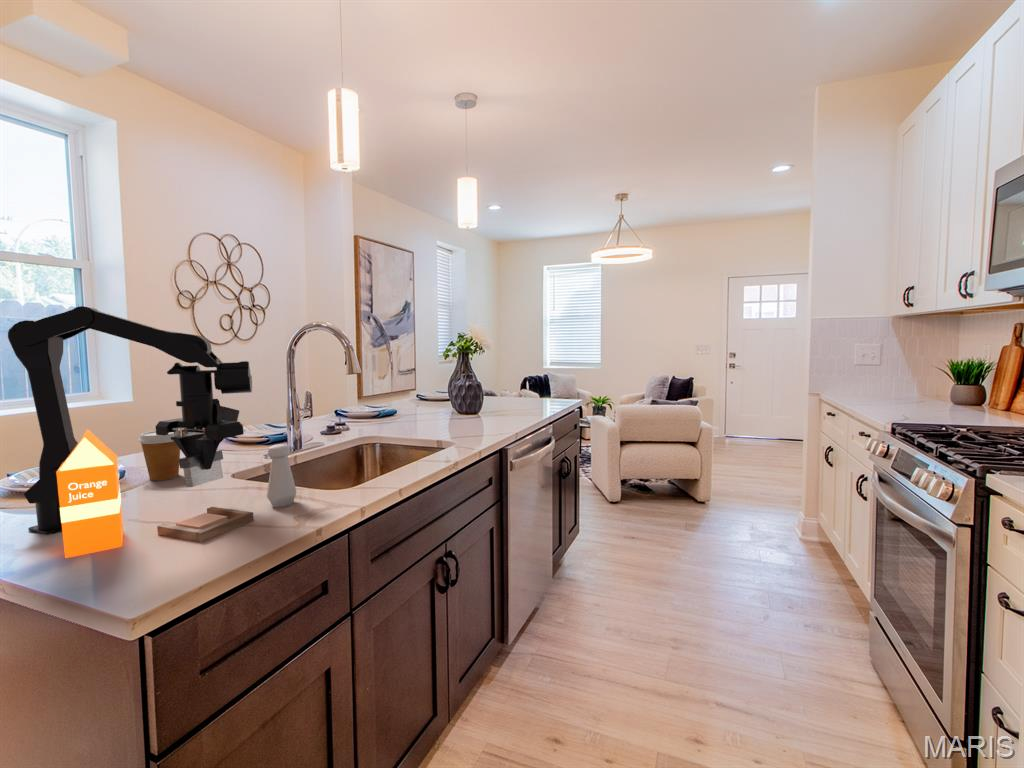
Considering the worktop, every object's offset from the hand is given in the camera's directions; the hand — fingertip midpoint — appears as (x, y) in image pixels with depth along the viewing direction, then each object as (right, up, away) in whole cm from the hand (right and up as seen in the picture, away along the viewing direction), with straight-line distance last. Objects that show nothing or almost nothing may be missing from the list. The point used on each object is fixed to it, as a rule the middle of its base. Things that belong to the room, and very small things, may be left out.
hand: (202, 468), depth 107 cm
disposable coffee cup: (-26, -7, +27) cm, 38 cm away
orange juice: (-8, -11, -17) cm, 22 cm away
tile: (+6, -10, -10) cm, 15 cm away
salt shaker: (+16, -8, +2) cm, 18 cm away
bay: (+7, -9, -10) cm, 15 cm away
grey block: (+1, -3, 0) cm, 3 cm away
